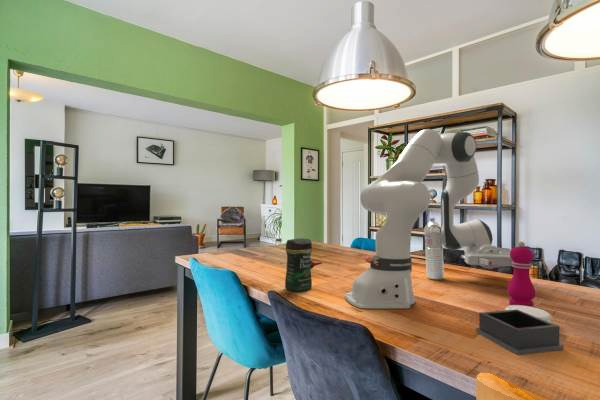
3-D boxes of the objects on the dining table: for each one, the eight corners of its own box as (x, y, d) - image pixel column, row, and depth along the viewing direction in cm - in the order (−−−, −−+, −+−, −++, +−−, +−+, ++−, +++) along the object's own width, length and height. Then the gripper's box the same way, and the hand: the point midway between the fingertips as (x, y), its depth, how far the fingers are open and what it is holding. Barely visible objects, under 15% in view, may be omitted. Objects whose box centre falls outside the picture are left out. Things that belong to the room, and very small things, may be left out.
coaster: (497, 320, 89) (497, 307, 89) (520, 314, 93) (520, 302, 93) (536, 334, 79) (536, 319, 79) (559, 327, 84) (559, 314, 83)
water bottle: (446, 280, 130) (443, 218, 129) (428, 280, 131) (425, 219, 130) (441, 275, 136) (438, 217, 136) (425, 275, 138) (421, 217, 137)
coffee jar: (294, 293, 112) (294, 240, 112) (281, 288, 118) (281, 238, 118) (315, 289, 118) (315, 238, 118) (302, 284, 124) (302, 236, 124)
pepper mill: (540, 310, 95) (540, 243, 95) (513, 309, 97) (513, 242, 96) (528, 303, 102) (528, 240, 102) (503, 301, 104) (503, 239, 103)
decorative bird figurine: (294, 270, 148) (294, 248, 148) (324, 276, 136) (324, 253, 136) (289, 271, 146) (289, 249, 146) (320, 278, 134) (320, 254, 134)
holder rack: (517, 354, 68) (517, 331, 68) (476, 331, 80) (476, 311, 80) (563, 349, 71) (563, 327, 71) (516, 328, 82) (516, 308, 82)
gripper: (459, 247, 126) (472, 253, 112) (516, 249, 122) (536, 255, 109) (459, 263, 126) (472, 271, 112) (516, 265, 122) (536, 274, 109)
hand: (504, 263), depth 110 cm, fingers open, 8 cm apart
